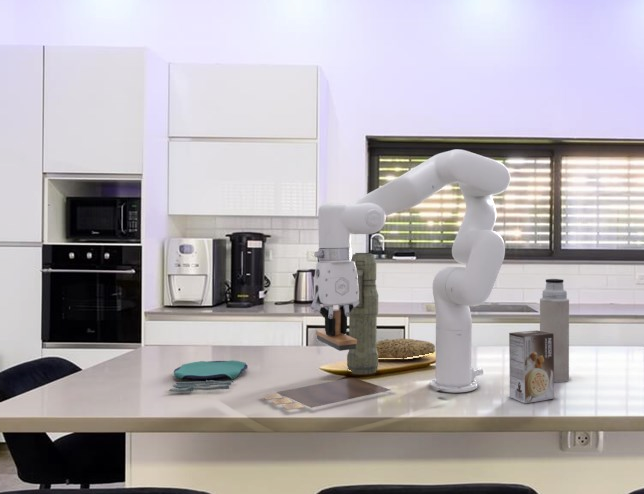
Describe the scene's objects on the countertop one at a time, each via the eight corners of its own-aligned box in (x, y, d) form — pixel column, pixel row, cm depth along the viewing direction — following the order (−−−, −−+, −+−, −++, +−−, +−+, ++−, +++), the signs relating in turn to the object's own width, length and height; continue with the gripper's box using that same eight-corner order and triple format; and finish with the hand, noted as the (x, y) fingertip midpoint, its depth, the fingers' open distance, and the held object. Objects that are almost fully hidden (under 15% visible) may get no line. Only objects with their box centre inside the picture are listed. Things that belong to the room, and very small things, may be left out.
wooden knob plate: (332, 337, 138) (332, 305, 138) (357, 349, 126) (357, 313, 125) (315, 339, 136) (315, 306, 135) (339, 351, 123) (339, 315, 123)
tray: (352, 380, 153) (352, 377, 153) (391, 393, 140) (391, 389, 140) (276, 395, 137) (276, 391, 137) (311, 411, 125) (311, 407, 125)
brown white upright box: (537, 392, 141) (537, 329, 141) (554, 399, 135) (555, 333, 136) (508, 397, 137) (508, 332, 137) (524, 404, 131) (525, 336, 131)
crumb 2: (287, 402, 132) (287, 397, 132) (292, 406, 129) (292, 402, 129) (270, 404, 130) (270, 400, 130) (275, 408, 127) (275, 404, 127)
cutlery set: (252, 366, 170) (252, 358, 170) (236, 392, 140) (236, 383, 140) (183, 368, 167) (183, 360, 167) (152, 395, 137) (152, 386, 137)
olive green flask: (344, 379, 154) (345, 253, 154) (349, 369, 166) (350, 252, 166) (376, 379, 154) (377, 253, 155) (379, 369, 166) (379, 252, 166)
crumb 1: (278, 397, 136) (278, 393, 136) (283, 401, 133) (283, 397, 133) (261, 399, 134) (261, 395, 134) (266, 403, 131) (266, 399, 131)
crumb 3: (298, 406, 128) (298, 402, 128) (304, 411, 125) (304, 406, 125) (281, 409, 126) (281, 404, 126) (286, 414, 123) (286, 409, 123)
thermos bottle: (545, 373, 162) (545, 277, 162) (572, 377, 157) (572, 278, 157) (535, 379, 155) (535, 279, 155) (563, 383, 151) (564, 280, 151)
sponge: (371, 367, 175) (433, 355, 172) (367, 342, 176) (428, 330, 174) (380, 365, 187) (437, 355, 185) (376, 342, 189) (433, 331, 187)
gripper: (313, 257, 122) (314, 340, 122) (372, 255, 133) (373, 332, 133) (296, 256, 128) (297, 336, 128) (354, 254, 139) (355, 328, 139)
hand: (336, 333), depth 130 cm, fingers closed on wooden knob plate, 2 cm apart
